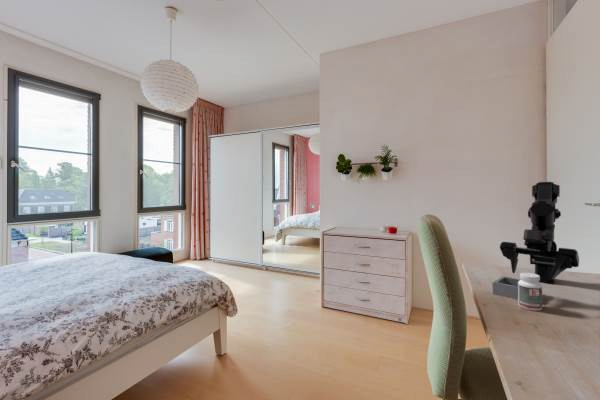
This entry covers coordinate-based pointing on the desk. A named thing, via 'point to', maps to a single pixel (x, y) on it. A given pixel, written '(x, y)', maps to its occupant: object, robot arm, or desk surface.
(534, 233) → the robot arm
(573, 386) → the desk surface
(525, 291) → the pill bottle
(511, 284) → the bottle holder
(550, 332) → the desk surface
